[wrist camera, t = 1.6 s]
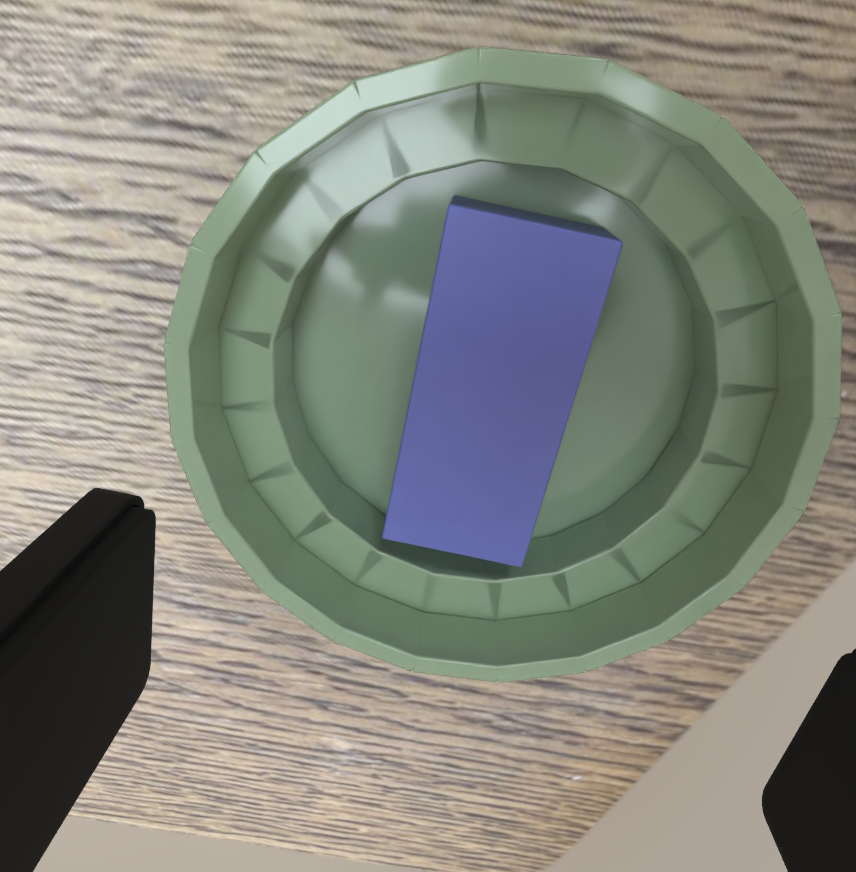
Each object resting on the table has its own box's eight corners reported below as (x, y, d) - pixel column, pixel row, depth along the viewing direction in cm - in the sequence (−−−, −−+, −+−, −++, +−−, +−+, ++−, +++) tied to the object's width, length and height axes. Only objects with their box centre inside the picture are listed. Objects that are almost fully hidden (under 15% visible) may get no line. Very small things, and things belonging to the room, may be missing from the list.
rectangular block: (452, 194, 17) (448, 203, 15) (605, 227, 17) (624, 241, 15) (392, 494, 21) (381, 538, 18) (518, 521, 21) (522, 568, 19)
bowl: (474, -85, 15) (471, -167, 11) (877, 352, 18) (991, 413, 14) (137, 381, 20) (50, 443, 16) (497, 654, 24) (500, 762, 20)
